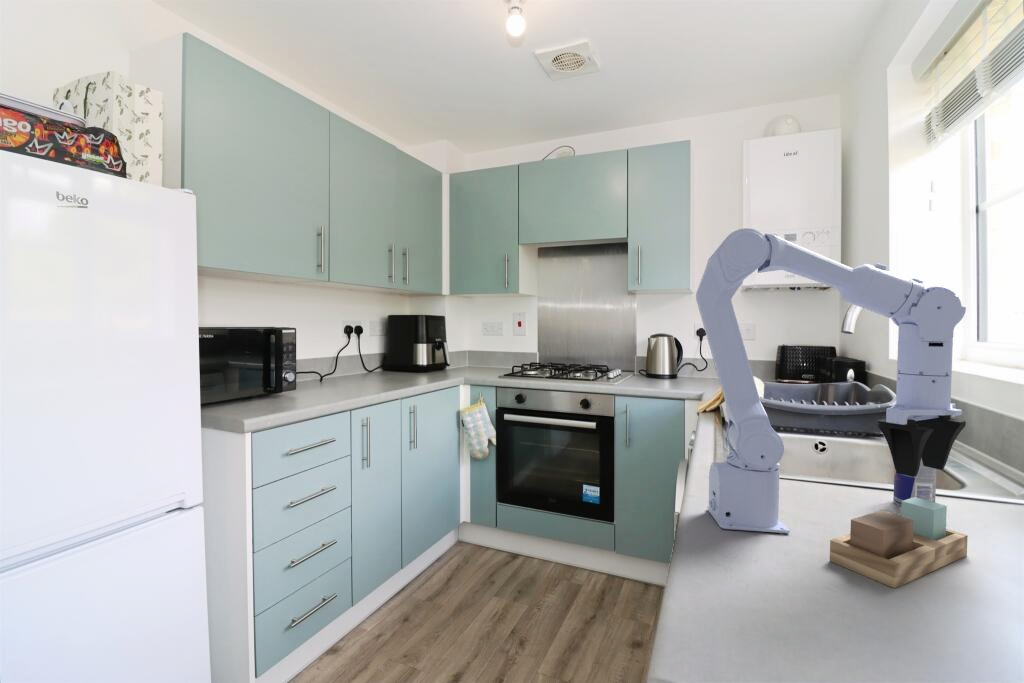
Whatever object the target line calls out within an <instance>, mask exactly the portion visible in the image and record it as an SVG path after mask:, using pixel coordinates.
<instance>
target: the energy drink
mask: <svg viewBox="0 0 1024 683" xmlns="http://www.w3.org/2000/svg"><path fill="white" fill-rule="evenodd" d="M893 467H894V466H893ZM893 470H894V471H893V472H894V473H893V474H894V476H893V502H894V503H895V504H896V505H898V506H899V505H900V507H902V501H903V500H907V499H910V498H913V497H916V498H920V499H923V500H927V501H931V502H935V503H936V492H937V490H936V488H937V469H935V468H930V467H925V466H924V465H923V462H922V457H921V462H920V468H919V471H918V474H917V476H916V477H911V476H907V475H903V474H899V473H896V470H895V467H894V469H893Z"/></svg>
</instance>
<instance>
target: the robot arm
mask: <svg viewBox="0 0 1024 683" xmlns="http://www.w3.org/2000/svg"><path fill="white" fill-rule="evenodd" d="M887 268H888V266H887V265H885V264H881V263H879V262H877V263H874V264H872V265H871V264H868V263H864V264H861V265H858V266H856V267H851V266H847V265H846V264H843V263H840V262H839V261H835V260H834V259H830V258H828V257H826V256H823V255H821V254H819V253H817V252H814V251H812V250H809V249H807V248H805V247H802V246H799V245H798V244H795V243H793V242H790V241H788V240H785V239H784V238H782V237H780V236H777V235H775V234H771V233H766V232H765V233H764V234H763V233H762V232H760V231H759V230H756V229H754V228H747V227H745V228H739V229H736V230H735V231H733V232H731V233H730V234H728V235H727V236H726V237H725V239H724V240H723V241H722V242H721V244H720V245H719V246H718V247H717V248H716V249H715V251H714V252H713V253H712V254H711V256H710V257H709V258H708V260H707V263H706V265H705V269H704V271H703V274H702V276H701V279H700V282H699V284H698V287H697V290H696V292H695V301H696V304H697V308H698V311H699V314H700V317H701V321H702V324H703V328H704V331H705V335H706V338H707V342H708V346H709V350H710V353H711V357H712V359H713V363H714V367H715V371H716V373H717V377H718V381H719V385H720V388H721V393H722V395H723V399H724V401H725V411H726V412H725V413H726V416H727V424H728V425H727V429H726V434H725V435H726V439H727V440H726V441H727V443H728V444H729V446H731V448H732V450H730V452H729V453H728V454H727V456H726V460H724V461H720V462H718V461H717V462H716V461H715V462H712V463H710V467H709V473H708V474H709V475H708V476H709V477H708V505H707V509H706V510H708V512H709V513H710V515H711V516H712V518H713V519H714V520H715V521H716V523H717V525H718V526H719V528H721V529H724V530H736V531H748V532H749V531H750V532H765V533H766V532H767V533H780V534H789V533H790V529H789V528H788V527H787V526H786V525H785V524H784V522H782V520H780V519H779V509H780V508H779V506H780V505H779V504H780V469H781V468H780V467H781V466H780V465H781V464H780V463H779V462H780V461H781V460H782V458H783V456H784V454H785V453H784V452H785V445H784V441H783V439H782V437H781V436H780V434H779V433H778V432H776V430H775V429H774V428H773V427H772V425H771V422H770V419H769V416H768V414H767V412H766V410H765V408H764V406H763V404H762V402H761V400H760V395H759V392H758V389H757V386H756V380H755V378H754V376H753V371H752V368H751V364H750V361H749V358H748V354H747V351H746V347H745V344H744V339H743V337H742V333H741V329H740V326H739V322H738V318H737V315H736V312H735V309H734V305H733V302H732V299H733V297H734V295H736V293H737V291H738V290H739V288H740V287H741V286H742V284H743V283H744V281H745V279H747V278H748V277H749V276H751V275H752V274H753V273H755V271H757V274H759V273H762V274H763V273H766V272H775V271H786V272H787V273H791V274H793V275H797V276H800V277H802V278H805V279H808V280H810V281H811V280H812V281H815V282H817V283H820V284H823V285H825V286H826V285H827V286H829V287H831V288H834V289H837V290H838V292H839V295H840V296H841V299H842V300H843V301H845V303H846V302H847V303H849V304H852V305H854V306H856V307H860V308H862V309H865V310H867V311H870V312H873V313H875V314H877V315H880V316H883V317H885V318H888V319H891V321H892V322H893V323H894V325H896V326H898V336H897V338H898V339H897V362H896V387H895V388H896V389H895V392H896V393H895V402H894V403H893V405H892V406H891V407H886V412H885V413H886V416H885V418H883V419H878V420H877V427H878V429H879V431H880V432H881V433H882V435H883V437H884V439H885V441H886V443H887V445H888V448H889V451H890V455H891V458H892V462H893V467H895V470H896V473H899V474H903V475H907V476H911V477H916V476H917V474H918V471H919V468H920V462H921V457H922V462H923V465H924V466H925V467H930V468H935V469H936V470H940V471H942V470H945V467H946V465H947V462H948V459H949V456H950V454H951V450H952V447H953V445H954V442H955V441H956V439H957V437H958V436H959V434H960V433H961V432H962V431H963V430H964V428H965V427H966V424H967V422H966V420H963V419H958V418H955V417H957V416H962V415H963V410H962V409H958V408H956V406H957V405H956V403H952V400H951V399H952V378H953V377H952V373H953V370H952V369H953V346H954V345H953V344H954V342H953V341H954V333H955V332H954V330H955V328H956V326H957V325H958V324H959V323H960V322H961V321H962V319H963V318H964V317H965V314H966V311H967V310H966V309H967V307H966V306H963V305H962V302H961V299H960V297H959V296H956V293H955V292H954V291H952V290H951V289H949V288H946V287H942V286H931V287H925V285H924V284H923V283H924V280H922V279H919V278H918V277H917V278H916V277H915V278H912V279H909V278H908V277H904V276H901V275H899V274H895V273H893V272H891V271H888V270H887Z"/></svg>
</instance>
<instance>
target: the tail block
mask: <svg viewBox="0 0 1024 683" xmlns="http://www.w3.org/2000/svg"><path fill="white" fill-rule="evenodd" d="M947 507H948V505H945V504H941V503H939V502H936V501H935V502H931V501H927V500H923V499H920V498H916V497H913V498H910V499H907V500H903V501H902V506H900V508H901V510H900V511H901V512H900V516H901V517H905V518H908V519H911V520H913V533H914V534H918V535H921V536H924V537H927V538H930V539H933V540H936V541H937V540H940V539H942V538H945V537H946V529H947V512H948V511H947V509H948V508H947Z"/></svg>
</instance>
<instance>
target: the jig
mask: <svg viewBox="0 0 1024 683" xmlns="http://www.w3.org/2000/svg"><path fill="white" fill-rule="evenodd" d="M968 536H969V535H968V534H964V533H961V532H957V531H955V530H951V529H948V528H946V537H945V538H942V539H940V540H937V541H936V540H933V539H930V538H927V537H924V536H921V535H918V534H914V533H913V548H912V551H909V552H907V553H904V554H902V555H899V556H897V557H894V558H892V559H889V560H888V559H886V558H883V557H881V556H878V555H875V554H873V553H870V552H867V551H865V550H862V549H860V548H857V547H854V546H852V545H850V533H848V534H847V533H846V534H845V535H841V536H838V537H835V538H832V539H830V540H829V543H830V544H829V547H830V548H829V562H831V563H833V564H836V565H838V566H841V567H843V568H845V569H848V570H851V571H853V572H855V573H858V574H860V575H863V576H865V577H867V578H868V579H872V580H874V581H876V582H879V583H881V584H883V585H885V586H888V587H891V588H893V589H896V588H899V587H901V586H903V585H905V584H908V583H909V582H912V581H914V580H917V579H918V578H921V577H923V576H924V575H927V574H930V573H932V572H933V571H936V570H938V569H940V568H943V567H945V566H948V565H949V564H952V563H954V562H957V561H958V560H960V559H963V558H964V557H967V556H968Z"/></svg>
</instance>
